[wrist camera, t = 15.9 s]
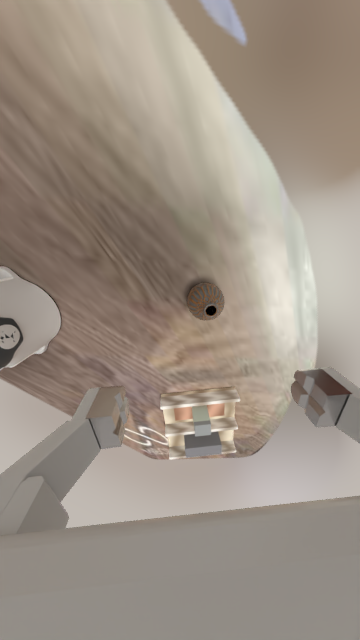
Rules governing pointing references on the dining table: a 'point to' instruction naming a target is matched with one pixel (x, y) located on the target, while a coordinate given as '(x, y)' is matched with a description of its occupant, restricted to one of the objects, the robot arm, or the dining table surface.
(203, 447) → the charcoal block
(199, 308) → the vase
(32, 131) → the dining table surface
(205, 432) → the grey rectangular block
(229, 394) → the rack
